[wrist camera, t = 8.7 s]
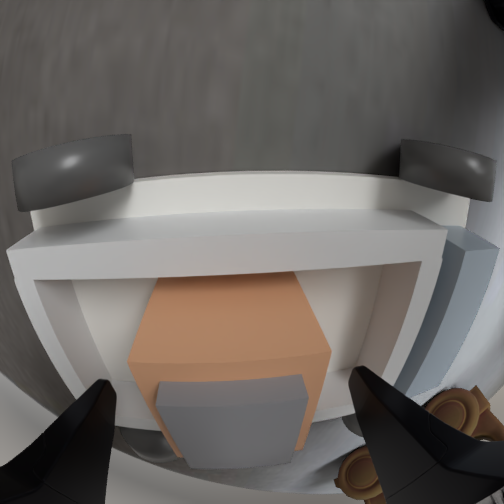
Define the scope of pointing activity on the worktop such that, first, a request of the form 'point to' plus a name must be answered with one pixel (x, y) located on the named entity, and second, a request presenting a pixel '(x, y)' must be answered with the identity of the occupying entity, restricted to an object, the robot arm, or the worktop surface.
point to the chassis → (253, 261)
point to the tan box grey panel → (231, 367)
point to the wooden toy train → (443, 407)
